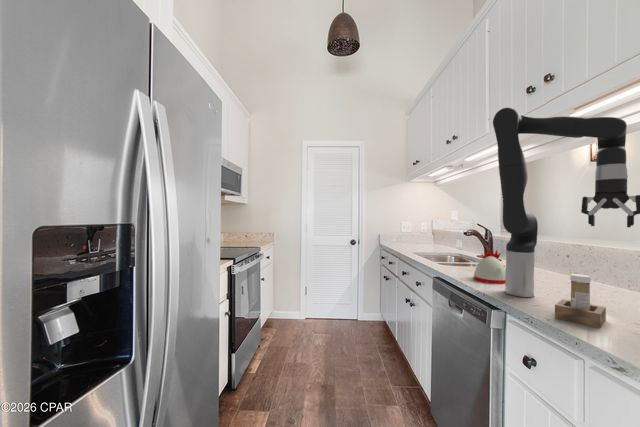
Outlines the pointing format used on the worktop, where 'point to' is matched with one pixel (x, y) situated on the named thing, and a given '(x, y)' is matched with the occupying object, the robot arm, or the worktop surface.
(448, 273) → the worktop surface
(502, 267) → the white rounded dome
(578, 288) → the sprinkles bottle
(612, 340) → the worktop surface
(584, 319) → the walnut holder
